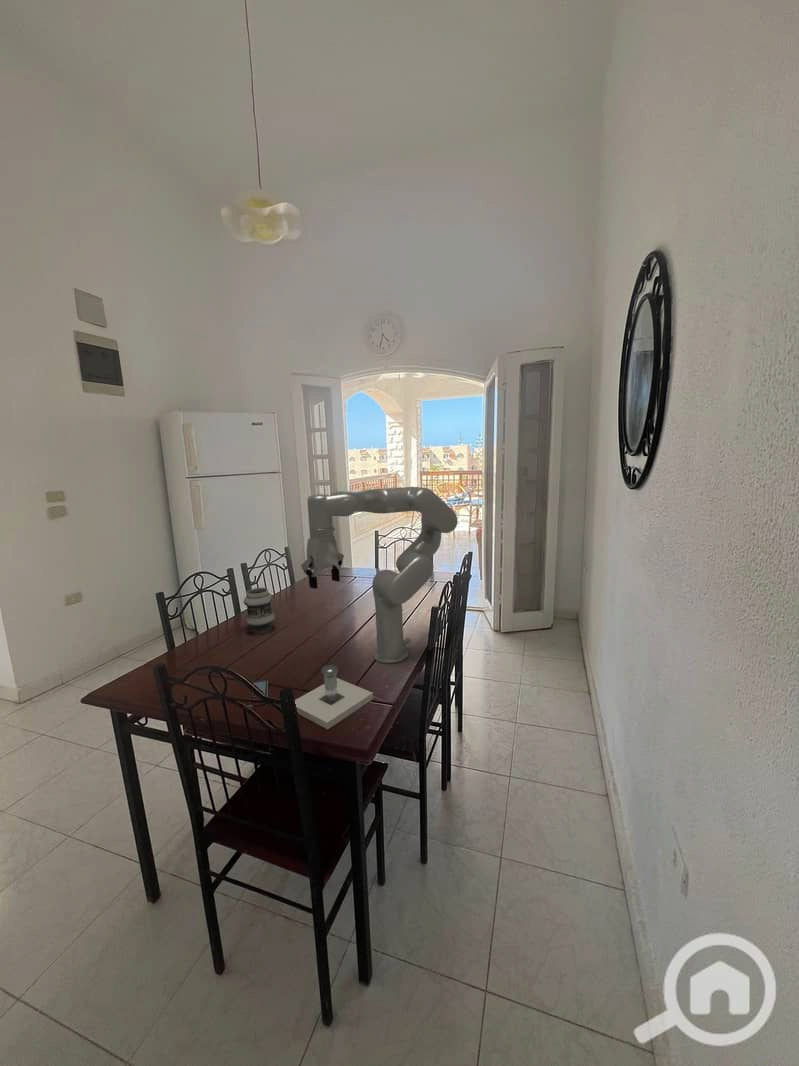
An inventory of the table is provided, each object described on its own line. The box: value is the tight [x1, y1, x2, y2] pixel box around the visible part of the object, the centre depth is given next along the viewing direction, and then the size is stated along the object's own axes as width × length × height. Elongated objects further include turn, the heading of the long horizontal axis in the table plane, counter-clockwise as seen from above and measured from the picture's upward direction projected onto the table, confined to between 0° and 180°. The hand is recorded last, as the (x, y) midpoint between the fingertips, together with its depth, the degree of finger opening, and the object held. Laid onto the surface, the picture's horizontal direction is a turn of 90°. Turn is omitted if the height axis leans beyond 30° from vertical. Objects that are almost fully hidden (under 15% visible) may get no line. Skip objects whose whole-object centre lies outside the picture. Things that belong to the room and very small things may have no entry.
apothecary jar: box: [243, 587, 276, 636], centre depth 182 cm, size 12×12×18 cm
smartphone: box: [248, 679, 269, 708], centre depth 133 cm, size 7×1×15 cm
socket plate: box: [294, 677, 374, 730], centre depth 125 cm, size 18×16×2 cm
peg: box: [321, 664, 339, 705], centre depth 124 cm, size 5×5×11 cm
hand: (325, 584), depth 141 cm, fingers open, 9 cm apart
